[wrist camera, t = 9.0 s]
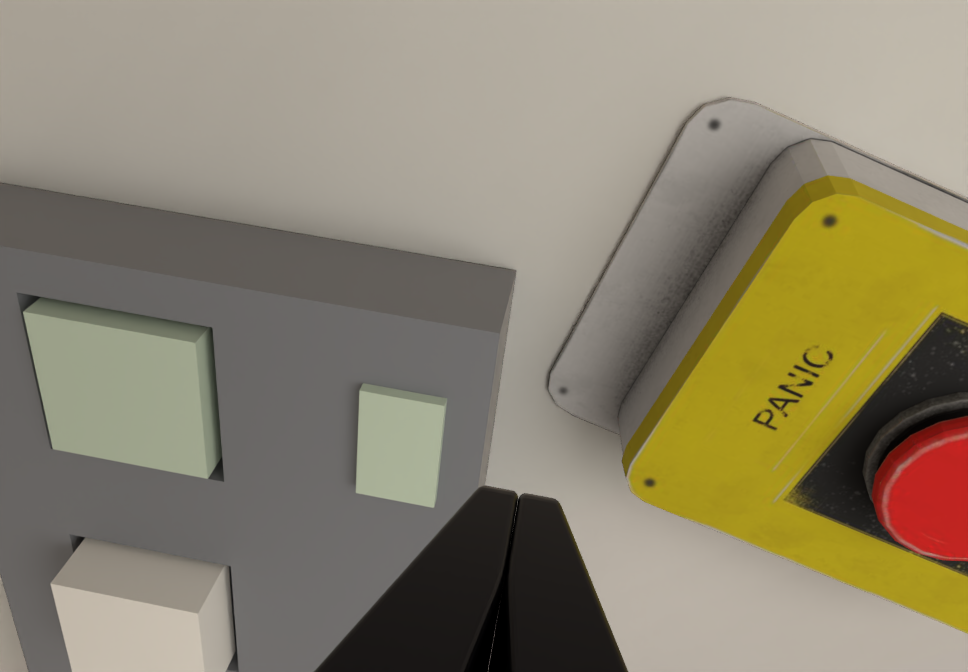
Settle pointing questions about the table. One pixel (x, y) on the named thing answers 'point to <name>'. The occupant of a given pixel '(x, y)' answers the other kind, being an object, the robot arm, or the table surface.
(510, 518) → the robot arm
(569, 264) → the table surface
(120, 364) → the sage key
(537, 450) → the table surface
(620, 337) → the emergency button
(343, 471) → the keypad
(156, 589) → the offwhite key
